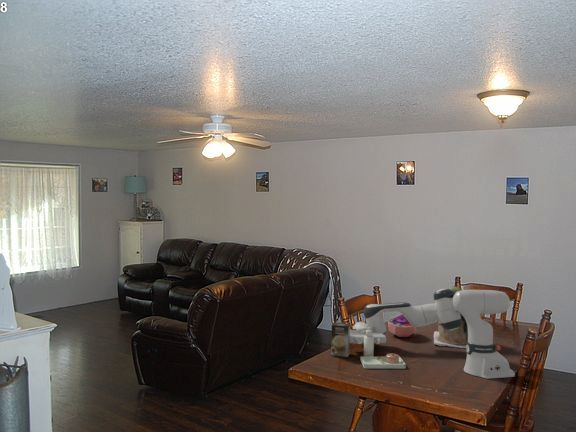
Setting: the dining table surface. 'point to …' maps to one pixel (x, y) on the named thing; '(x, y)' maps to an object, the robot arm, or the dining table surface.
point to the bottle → (369, 344)
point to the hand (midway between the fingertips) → (368, 342)
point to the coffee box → (340, 339)
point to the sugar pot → (392, 358)
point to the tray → (380, 363)
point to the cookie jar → (452, 333)
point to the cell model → (401, 327)
